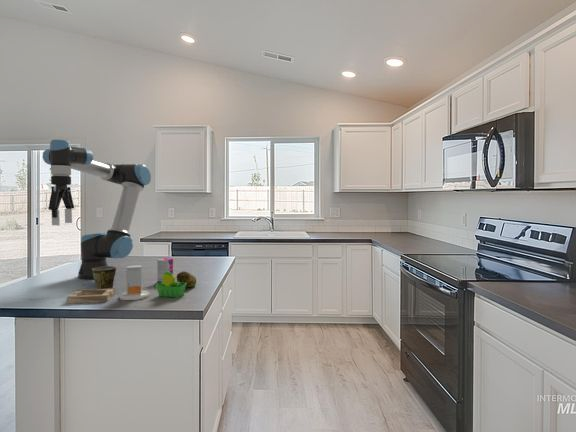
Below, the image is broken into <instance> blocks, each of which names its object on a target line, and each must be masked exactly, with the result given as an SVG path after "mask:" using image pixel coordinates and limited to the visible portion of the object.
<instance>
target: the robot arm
mask: <svg viewBox="0 0 576 432" xmlns="http://www.w3.org/2000/svg"><path fill="white" fill-rule="evenodd" d="M93 153H94V152H92V150H90V149H87V148H86V147H79V146H78V147H76V146H71V142H70V141H69V140H66V139H51V140H50V143H49V148H47V149H45V150H44V151H43V152H42V160H43V161H44V163H45V164H47V165H50V168H49V170H50V174H51V175H52V176H51V177H50V184H51V185H53V186H51V191H50V197H49V204H48V210H49V211H51V225H52V226H60V225H61V223H60V209H59V207H60V204H61V202H63V205H64V207H65V208H64V223H65V224H72V223H73V210H72V209H75V205H74V200H73V196H72V192H71V191H72V190H71V185H72V177H71V175H72V170H73V171H74V170H75V171H77V172H82V173H85V174H88V175H92V176H96V177H99V178H100V179H101V180H103V181H106V182H110V183H113V184H116V185H121V186H122V191H121V195H120V198H119V201H118V204H117V207H116V208H117V209H116V210H115V211H116V212H115V216H114V218H113V221H112V222H113V223H112V226H111V227H110V228H109V229H107V231H106V232H96V233H88V234H83V235H81V239H80V251H81V264H80V267H79V270H78V275H77V277H78V279H82V280H95V279H94V276H93V272H92V269H93V268H96V267H101V266H109V264H108V262H107V259H115V260H116V259H125V258H126V257H128V256H129V255H130V253H131V252H132V251H133V248H134V243H133V239H132V238H131V237H132V235H131V233H130V229H131V224H132V221H133V216H134V213H135V211H136V210H135V209H136V207H137V202H138V199H139V195H140V193H141V192H142V191H143V190H144V188H145V186H147V185H149V184H150V182H151V180H152V179H151V178H152V175H151V172H150V171H151V170H150V169H149V168H148V166H147V165H145V164H143V163H141V164H140V163H135V164H133V163H132V164H129V163H127V164H123V163H122V164H113V163H112V164H111V163H108V162H105V163H102V162H100V161H96V160H94V154H93Z"/></svg>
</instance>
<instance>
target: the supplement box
mask: <svg viewBox="0 0 576 432" xmlns="http://www.w3.org/2000/svg"><path fill="white" fill-rule="evenodd" d="M156 266H157V267H156V268H157V269H156V273H157V275H156V277H157V278H156V280H157V281H156V283H157V284H159V283H162V280H163V274H164V273H165V272H167V271H169V272H170V273H171V274H172V275H174V259H173V258H165V257H163V258H159V259H157V265H156Z"/></svg>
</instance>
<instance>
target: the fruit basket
mask: <svg viewBox="0 0 576 432" xmlns="http://www.w3.org/2000/svg"><path fill="white" fill-rule="evenodd" d="M186 284H187V283H181V282H178V281H177V280H176V276H175V275H174V274H173V275H172V274H171V273H170V272H169V271H167V272H165V273H164V274H163V280H162V283H156V284H155V288H156V290H157V293H158V296H159V297H165V298H167V297H168V298H180V297H182V296H183V295H184V294H185V290H186V288H187V287H186Z"/></svg>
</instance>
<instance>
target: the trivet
mask: <svg viewBox="0 0 576 432" xmlns="http://www.w3.org/2000/svg"><path fill="white" fill-rule="evenodd" d="M150 294H151V293H150V291H148V290H143V289H142V294H139V295H127V291H125V292H122V293H120V294H118V295H119V299H120V300H121V301H125V300H133V301H140V299H141V300H145V299H147V298H149V297H150Z"/></svg>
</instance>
